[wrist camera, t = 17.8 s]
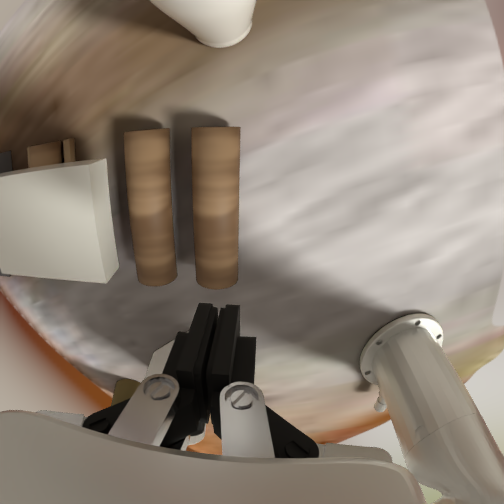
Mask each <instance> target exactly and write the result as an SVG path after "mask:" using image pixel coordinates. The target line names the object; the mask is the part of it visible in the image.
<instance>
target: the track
mask: <svg viewBox="0 0 504 504" xmlns="http://www.w3.org/2000/svg"><path fill="white" fill-rule="evenodd" d="M191 140H192V199H193V226H194V247H195V265H196V280H197V283H198V284H199V285H201V286H202V287H205V288H208V289H225V288H229V287H231V286H233V285H234V284H236V282H237V281H238V230H239V168H240V127H193V128H192V130H191ZM34 146H36V145H34ZM30 147H32V146H30ZM63 148H64V161H65V163H68V162H76V158H75V142H74V138H71V139H66V140H63ZM124 153H125V171H126V185H127V197H128V208H129V217H130V226H131V234H132V242H133V250H134V257H135V263H136V270H137V276H138V280H139V282H140V283H141V284H143V285H146V286H162V285H166V284H168V283H171V282H172V281H174V280H175V279H176V277H177V267H176V256H175V244H174V230H173V215H172V197H171V173H170V128H163V129H148V130H137V131H129V132H124ZM27 156H28V167H29V168H31V167H30V156H29V147H27Z"/></svg>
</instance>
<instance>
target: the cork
mask: <svg viewBox="0 0 504 504" xmlns="http://www.w3.org/2000/svg"><path fill="white" fill-rule="evenodd" d="M139 385H140V382H137V381H135V380H131V379H121V380H119V381H117V383H116V386H115V390H114V395H113V399H112V404H111V406H113V405H115V404H117V403H120V402H122V401H124V400H127V399H129V398H131V397H132V396H133V394H134V393H135V391H136V390H137V388H138V386H139Z"/></svg>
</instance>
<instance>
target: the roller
mask: <svg viewBox="0 0 504 504" xmlns="http://www.w3.org/2000/svg"><path fill="white" fill-rule="evenodd" d="M29 156H30V167H31V168H33V167H39V166H46V165H53V164H60V163H62V154H61V141H56V142H50V143H45V144H41V145H36V146H32V147H29Z"/></svg>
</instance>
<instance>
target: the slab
mask: <svg viewBox="0 0 504 504" xmlns="http://www.w3.org/2000/svg"><path fill="white" fill-rule="evenodd" d="M118 268H119V262H118V256H117V250H116V243H115V237H114V230H113V222H112V214H111V206H110V197H109V186H108V175H107V161H106V158H105V159H95V160H85V161H76V162H68V163H60V164H53V165H46V166H39V167H33V168H27V169H21V170H15V171H10V172H5V173H0V269H1V272H2V274H11V275H20V276H29V277H39V278H49V279H60V280H71V281H82V282H95V283H107V282H108V281H109V280H110V279H111V277H112V276H113V275H114V273H115V272H116V271H117V270H118Z"/></svg>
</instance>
